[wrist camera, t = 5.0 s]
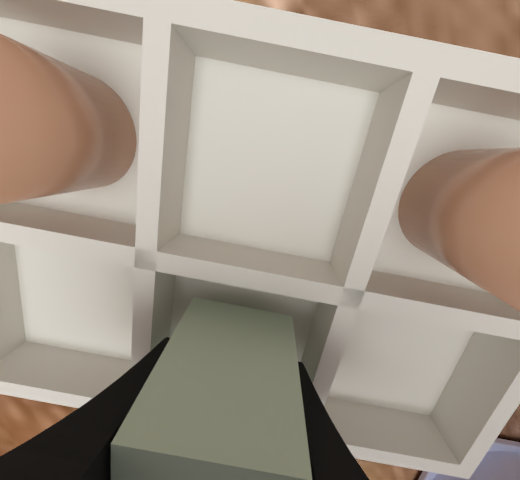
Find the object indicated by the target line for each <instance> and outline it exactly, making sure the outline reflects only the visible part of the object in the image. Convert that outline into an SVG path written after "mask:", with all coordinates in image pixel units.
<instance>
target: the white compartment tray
mask: <svg viewBox="0 0 520 480" xmlns="http://www.w3.org/2000/svg"><path fill="white" fill-rule="evenodd" d="M0 34H2V35H5V36H7V37H9V38H11V39H13V40H15V41H18V42H20V43H22V44H24V45H26V46H28V47H31V48H33V49H35V50H37V51H39V52H41V53H44V54H46V55H48V56H50V57H52V58H54V59H57V60H59V61H61V62H63V63H65V64H67V65H70V66H72V67H74V68H76V69H78V70H81V71H83V72H85V73H87V74H89V75H91V76H94V77H96V78H98V79H99V80H101V81H103V82H104V83H106V84H107V85H108V86H110V87H111V88H112V89H113V90H114V91H115V92H116V93H117V94H118V95H119V97H120V98H121V99H122V100H123V102H124V103H125V105H126V107H127V108H128V110H129V112H130V114H131V117H132V120H133V123H134V126H135V131H136V152H135V157H134V160H133V162H132V165H131V166H130V168H129V170H128V171H127V173H126V174H125V175H124V176H123V177H122V178H121V179H119V180H118V181H117V182H115V183H113V184H111V185H108V186H105V187H100V188H94V189H88V190H82V191H76V192H70V193H64V194H58V195H52V196H46V197H40V198H34V199H28V200H22V201H16V202H10V203H4V204H0V394H4V395H9V396H14V397H20V398H25V399H31V400H36V401H42V402H47V403H53V404H58V405H64V406H69V407H75V408H80V407H81V406H82V405H84V404H85V403H87V402H88V401H89V400H91V399H92V398H94V397H95V396H96V395H98V394H99V393H100V392H102V391H103V390H104V389H105V388H107V387H108V386H109V385H111V384H112V383H113V382H115V381H116V380H117V379H118V378H120V377H121V376H122V375H123V374H124V373H126V372H127V371H128V370H129V369H130V368H132V367H133V366H134V365H135V364H136V363H138V362H139V361H140V360H141V359H142V358H143V357H144V356H145V355H147V354H148V353H149V352H150V351H151V350H152V349H153V348H154V347H155V346H156V345H157V344H159V343H160V342H161V341H162V340H163V339H164V338H166V337H169V338H171V336H172V334H173V333H174V331H175V329H176V327H177V326H178V324H179V322H180V320H181V318H182V317H183V315H184V313H185V311H186V310H187V308H188V306H189V304H190V303H191V301H192V299H193V297H196V298H201V299H206V300H211V301H217V302H222V303H227V304H232V305H238V306H243V307H248V308H254V309H259V310H264V311H269V312H275V313H280V314H285V315H290V316H292V318H293V326H294V334H295V342H296V350H297V358H298V362H302V363H303V364H304V366H305V368H306V370H307V372H308V375H309V377H310V379H311V381H312V383H313V385H314V387H315V389H316V391H317V393H318V395H319V397H320V399H321V401H322V403H323V405H324V407H325V409H326V411H327V413H328V414H329V416H330V418H331V420H332V422H333V423H334V425H335V427H336V429H337V430H338V432H339V434H340V435H341V437H342V439H343V440H344V442H345V444H346V445H347V447H348V449H349V450H350V452H351V453H352V455H353V456H354V458H355V459H361V460H366V461H372V462H377V463H383V464H388V465H394V466H399V467H405V468H410V469H416V470H421V471H427V472H432V473H438V474H443V475H449V476H454V477H460V478H465V479H470V477H471V476H472V474H473V473H474V471H475V470H476V468H477V467H478V465H479V464H480V462H481V461H482V459H483V458H484V456H485V455H486V453H487V452H488V450H489V449H490V447H491V446H492V444H493V443H494V441H495V440H496V438H497V437H498V435H499V434H500V432H501V431H502V429H503V428H504V426H505V425H506V423H507V422H508V420H509V419H510V417H511V416H512V414H513V413H514V411H515V410H516V408H517V407H518V405H519V404H520V312H519V311H518V310H516V309H515V308H513V307H511V306H510V305H508V304H506V303H505V302H503V301H502V300H500V299H498V298H497V297H495V296H494V295H492V294H490V293H489V292H487V291H486V290H484V289H482V288H481V287H479V286H478V285H476V284H474V283H473V282H471V281H469V280H468V279H466V278H465V277H463V276H461V275H460V274H458V273H457V272H455V271H453V270H452V269H450V268H449V267H447V266H445V265H444V264H442V263H440V262H439V261H437V260H436V259H434V258H432V257H431V256H429V255H428V254H426V253H424V252H423V251H421V250H420V249H418V248H416V247H415V246H414V245H412V244H411V243H410V242H409V241H408V240H407V239H406V237H405V236H404V234H403V232H402V230H401V228H400V224H399V218H398V208H399V202H400V198H401V195H402V193H403V190H404V188H405V186H406V185H407V183H408V181H409V180H410V179H411V177H412V176H413V175H414V174H415V173H416V172H417V171H418V170H419V169H420V168H421V167H422V166H423V165H424V164H426V163H427V162H429V161H430V160H432V159H434V158H436V157H437V156H440V155H442V154H445V153H448V152H452V151H457V150H473V149H496V148H518V147H520V58H515V57H510V56H505V55H500V54H495V53H490V52H486V51H481V50H476V49H471V48H466V47H461V46H456V45H451V44H446V43H441V42H436V41H431V40H426V39H421V38H417V37H412V36H407V35H402V34H397V33H392V32H387V31H382V30H377V29H372V28H367V27H362V26H357V25H352V24H348V23H343V22H338V21H333V20H328V19H323V18H318V17H313V16H308V15H303V14H298V13H293V12H288V11H283V10H279V9H274V8H269V7H264V6H259V5H254V4H249V3H244V2H239V1H234V0H0Z"/></svg>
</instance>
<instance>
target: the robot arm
mask: <svg viewBox="0 0 520 480" xmlns="http://www.w3.org/2000/svg"><path fill="white" fill-rule="evenodd" d="M169 340H170V338H169V337H166V338H164V339H163V340H162V341H161V342H160V343H159V344H157V345H156V346H155V347H154V348H153V349H152V350H151V351H150V352H149V353H148V354H147V355H145V356H144V357H143V358H142V359H141V360H140V361H139V362H138V363H136V364H135V365H134V366H133V367H132V368H130V369H129V370H128V371H127V372H126V373H124V374H123V375H122V376H121V377H120V378H118V379H117V380H116V381H115V382H113V383H112V384H111V385H109V386H108V387H107V388H105V389H104V390H103V391H102V392H100V393H99V394H98V395H96V396H95V397H94V398H92V399H91V400H89V401H88V402H87V403H85V404H84V405H82V406H81V407H80V408H78V409H77V410H75V411H74V412H72V413H71V414H69V415H68V416H66V417H65V418H63V419H62V420H60V421H59V422H57V423H56V424H54V425H52V426H51V427H49V428H48V429H46V430H44V431H43V432H41V433H40V434H38V435H36V436H35V437H33V438H32V439H30V440H28V441H27V442H25V443H23V444H22V445H20V446H18V447H16V448H15V449H13V450H11V451H9V452H7V453H6V454H4V455H2V456H0V480H111V442H112V441H113V439H114V437H115V435H116V434H117V432H118V430H119V428H120V427H121V425H122V423H123V421H124V419H125V418H126V416H127V414H128V412H129V411H130V409H131V407H132V405H133V404H134V402H135V400H136V398H137V396H138V395H139V393H140V391H141V389H142V388H143V386H144V384H145V382H146V380H147V379H148V377H149V375H150V373H151V372H152V370H153V368H154V366H155V365H156V363H157V361H158V359H159V357H160V356H161V354H162V352H163V350H164V349H165V347H166V345H167V343H168V342H169ZM298 367H299V375H300V383H301V391H302V399H303V407H304V416H305V424H306V432H307V440H308V448H309V456H310V465H311V473H312V480H369V479H368V477H367V476H366V474H365V473H364V471H363V470H362V468H361V467H360V465H359V464H358V463H357V461H356V460H355V458H354V456H353V455H352V453H351V452H350V450H349V449H348V447H347V445H346V444H345V442H344V440H343V439H342V437H341V435H340V434H339V432H338V430H337V429H336V427H335V425H334V423H333V422H332V420H331V418H330V416H329V414H328V413H327V411H326V409H325V407H324V405H323V403H322V401H321V399H320V397H319V395H318V393H317V391H316V389H315V387H314V385H313V383H312V381H311V379H310V377H309V375H308V372H307V370H306V368H305V366H304V364H303V363H302V362H298ZM418 480H520V442H516V441H511V440H505V439H500V438H496V440H495V441H494V443H493V444H492V446H491V447H490V449H489V450H488V452H487V453H486V455H485V456H484V458H483V459H482V461H481V462H480V464H479V465H478V467H477V468H476V470H475V471H474V473H473V474H472V476H471V477H470V479H465V478H460V477H454V476H449V475H443V474H438V473H432V472H427V471H423V472H422V474H421V475H420V477H419V479H418Z"/></svg>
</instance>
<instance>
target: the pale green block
mask: <svg viewBox="0 0 520 480" xmlns="http://www.w3.org/2000/svg"><path fill="white" fill-rule="evenodd" d="M111 480H312V473H311V465H310V456H309V448H308V440H307V432H306V424H305V416H304V407H303V399H302V391H301V383H300V375H299V367H298V358H297V350H296V342H295V334H294V326H293V318H292V316H290V315H285V314H280V313H275V312H269V311H264V310H259V309H254V308H248V307H243V306H238V305H232V304H227V303H222V302H217V301H211V300H206V299H201V298H196V297H193V299H192V301H191V303H190V304H189V306H188V308H187V310H186V311H185V313H184V315H183V317H182V318H181V320H180V322H179V324H178V326H177V327H176V329H175V331H174V333H173V334H172V336H171V338H170V340H169V342H168V343H167V345H166V347H165V349H164V350H163V352H162V354H161V356H160V357H159V359H158V361H157V363H156V365H155V366H154V368H153V370H152V372H151V373H150V375H149V377H148V379H147V380H146V382H145V384H144V386H143V388H142V389H141V391H140V393H139V395H138V396H137V398H136V400H135V402H134V404H133V405H132V407H131V409H130V411H129V412H128V414H127V416H126V418H125V419H124V421H123V423H122V425H121V427H120V428H119V430H118V432H117V434H116V435H115V437H114V439H113V441H112V442H111Z"/></svg>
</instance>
